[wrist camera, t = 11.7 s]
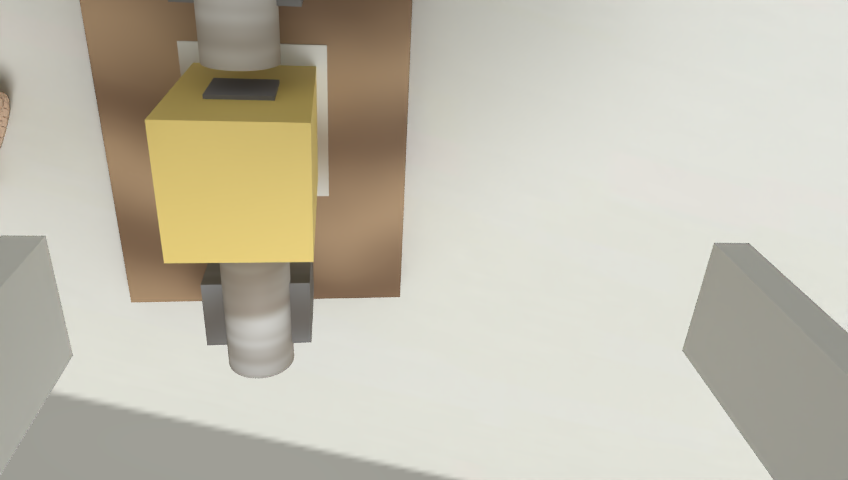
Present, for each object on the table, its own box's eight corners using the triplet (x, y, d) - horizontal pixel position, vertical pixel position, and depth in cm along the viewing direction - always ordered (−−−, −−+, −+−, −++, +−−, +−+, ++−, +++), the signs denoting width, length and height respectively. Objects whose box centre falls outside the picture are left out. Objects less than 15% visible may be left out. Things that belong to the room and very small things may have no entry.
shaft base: (67, -136, 25) (-15, -147, 19) (413, -115, 27) (436, -119, 21) (139, 298, 33) (97, 383, 28) (397, 293, 35) (410, 373, 29)
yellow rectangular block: (192, 58, 27) (143, 115, 20) (316, 62, 28) (310, 118, 21) (204, 179, 30) (164, 267, 23) (318, 180, 30) (313, 265, 23)
